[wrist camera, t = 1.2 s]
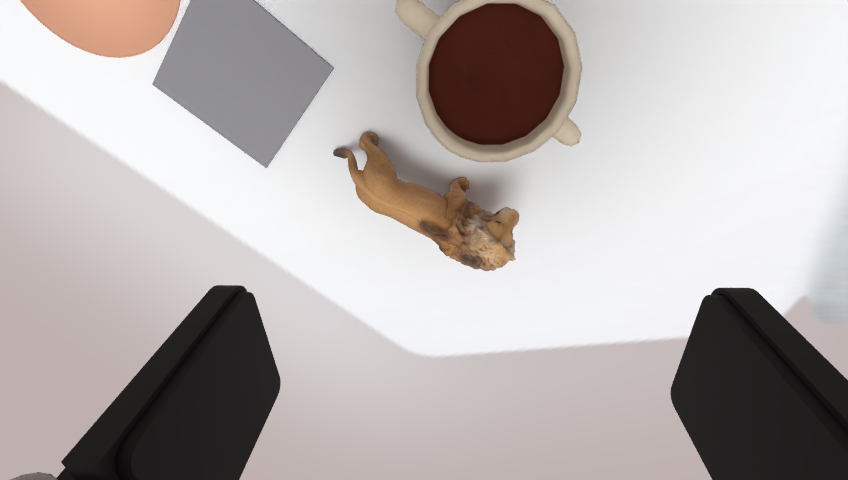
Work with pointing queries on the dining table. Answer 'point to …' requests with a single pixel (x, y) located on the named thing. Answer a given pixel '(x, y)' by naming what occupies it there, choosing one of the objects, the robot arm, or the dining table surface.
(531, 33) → the character mug
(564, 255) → the dining table surface
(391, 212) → the lion figurine
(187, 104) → the far square
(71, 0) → the disc
